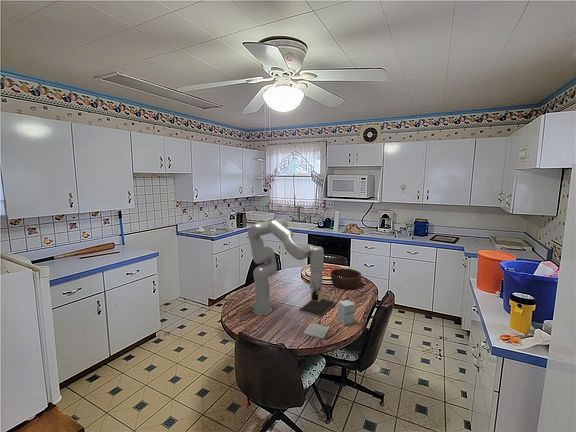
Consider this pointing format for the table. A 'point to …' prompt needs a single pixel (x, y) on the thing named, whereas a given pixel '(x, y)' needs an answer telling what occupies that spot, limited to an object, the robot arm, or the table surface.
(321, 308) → the hardcover book
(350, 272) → the wooden bowl
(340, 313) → the supplement box
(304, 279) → the table surface
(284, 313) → the table surface
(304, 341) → the table surface
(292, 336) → the table surface
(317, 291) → the ochre cube
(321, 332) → the mat
